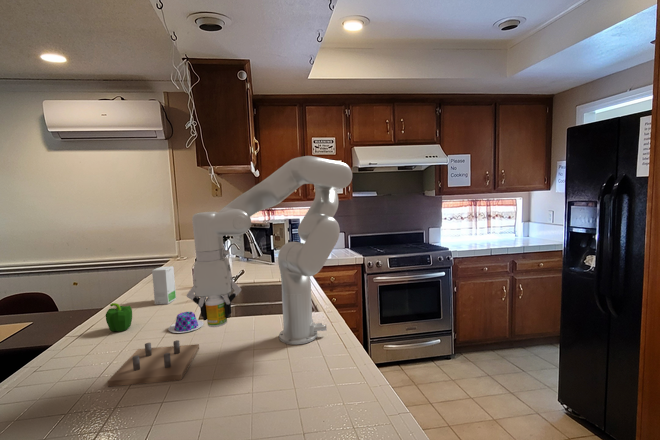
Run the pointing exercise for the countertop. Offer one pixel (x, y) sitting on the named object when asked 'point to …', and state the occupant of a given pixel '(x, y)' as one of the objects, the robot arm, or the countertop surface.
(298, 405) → the countertop surface
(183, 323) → the pudding
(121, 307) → the bell pepper
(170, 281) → the skincare box
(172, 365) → the peg cradle
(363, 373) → the countertop surface
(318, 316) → the countertop surface
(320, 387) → the countertop surface
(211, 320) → the supplement bottle
